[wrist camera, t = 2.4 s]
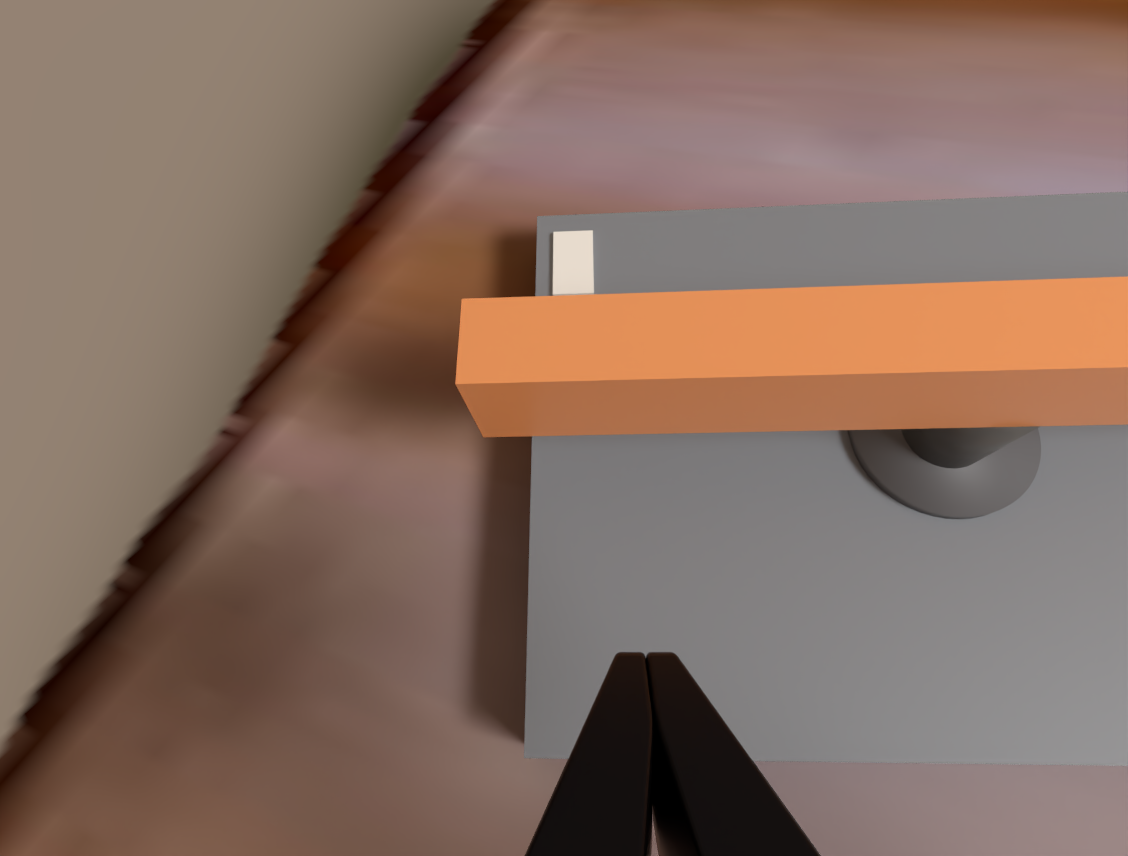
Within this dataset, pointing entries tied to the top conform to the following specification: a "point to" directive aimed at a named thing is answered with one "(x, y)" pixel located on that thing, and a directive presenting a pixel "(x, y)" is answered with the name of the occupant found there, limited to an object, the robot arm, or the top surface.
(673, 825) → the robot arm
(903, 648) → the panel
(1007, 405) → the handle
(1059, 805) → the top surface
